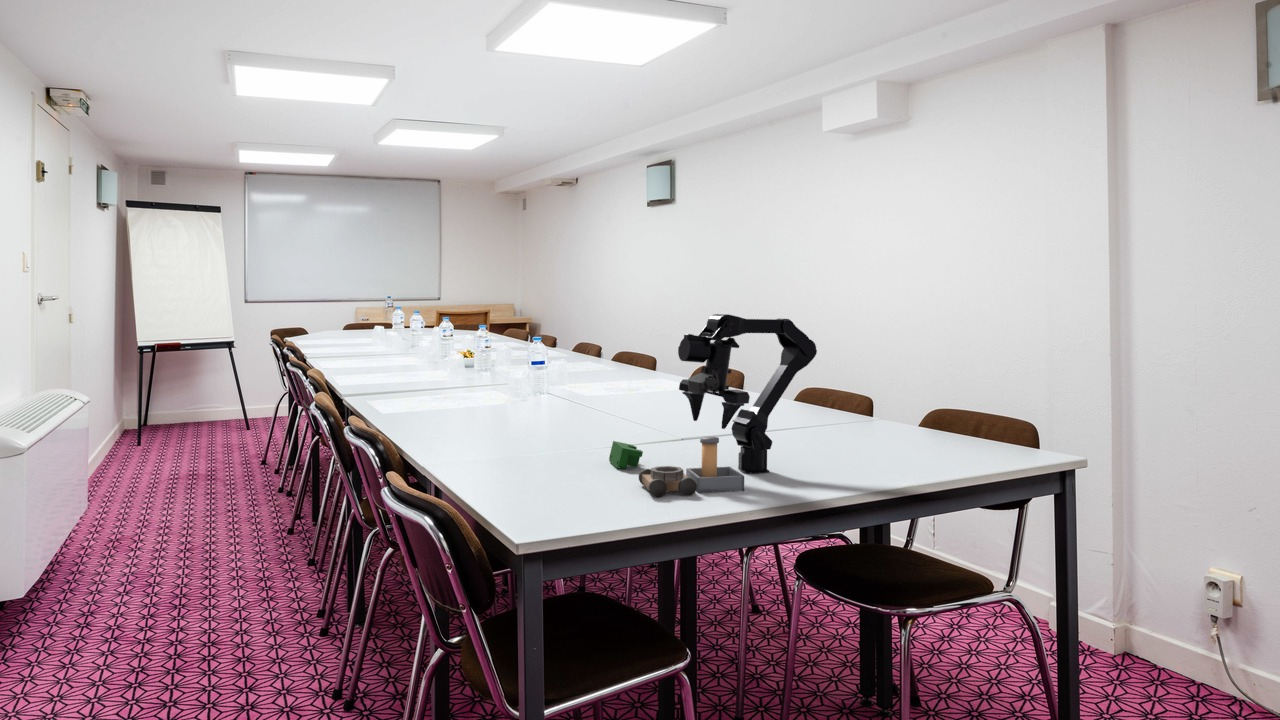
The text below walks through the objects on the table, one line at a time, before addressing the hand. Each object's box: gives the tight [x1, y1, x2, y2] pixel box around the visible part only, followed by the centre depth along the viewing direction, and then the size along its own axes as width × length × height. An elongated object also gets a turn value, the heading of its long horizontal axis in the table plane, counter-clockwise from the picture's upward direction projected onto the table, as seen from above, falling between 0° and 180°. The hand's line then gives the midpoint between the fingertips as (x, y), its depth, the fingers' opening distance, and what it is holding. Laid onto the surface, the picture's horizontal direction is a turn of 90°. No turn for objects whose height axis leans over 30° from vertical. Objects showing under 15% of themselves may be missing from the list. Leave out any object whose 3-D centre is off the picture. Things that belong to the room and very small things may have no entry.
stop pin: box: [699, 436, 720, 477], centre depth 195 cm, size 4×4×11 cm
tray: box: [685, 466, 745, 494], centre depth 196 cm, size 11×11×4 cm
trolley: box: [638, 465, 697, 498], centre depth 192 cm, size 11×12×5 cm
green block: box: [608, 440, 644, 470], centre depth 221 cm, size 12×6×9 cm, turn 8°
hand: (709, 424), depth 208 cm, fingers open, 9 cm apart
